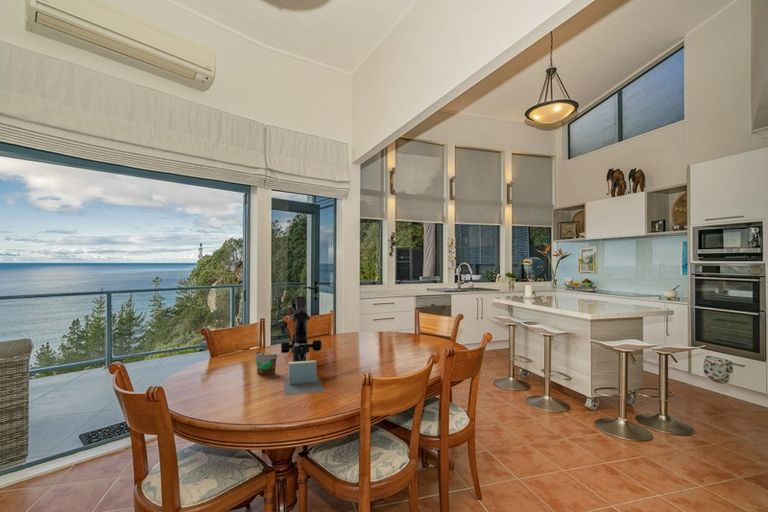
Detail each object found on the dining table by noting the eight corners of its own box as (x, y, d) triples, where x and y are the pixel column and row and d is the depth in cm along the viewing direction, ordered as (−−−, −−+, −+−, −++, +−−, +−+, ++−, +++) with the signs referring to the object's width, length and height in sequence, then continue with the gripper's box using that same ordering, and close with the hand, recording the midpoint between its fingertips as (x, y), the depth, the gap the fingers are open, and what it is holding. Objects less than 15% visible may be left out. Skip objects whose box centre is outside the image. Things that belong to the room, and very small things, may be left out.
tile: (288, 382, 155) (288, 362, 155) (315, 380, 158) (316, 360, 159) (288, 384, 152) (288, 363, 152) (316, 382, 156) (316, 361, 156)
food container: (248, 374, 167) (249, 353, 167) (258, 370, 172) (259, 350, 173) (267, 378, 161) (267, 356, 161) (277, 374, 167) (277, 353, 167)
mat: (283, 380, 159) (283, 379, 159) (319, 377, 163) (319, 376, 163) (284, 396, 140) (284, 395, 140) (324, 392, 144) (324, 391, 144)
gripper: (318, 341, 179) (320, 369, 169) (281, 343, 174) (280, 372, 163) (320, 329, 172) (322, 357, 161) (281, 331, 167) (281, 360, 156)
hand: (302, 362), depth 161 cm, fingers closed
